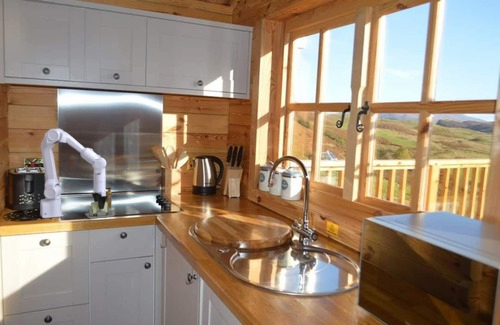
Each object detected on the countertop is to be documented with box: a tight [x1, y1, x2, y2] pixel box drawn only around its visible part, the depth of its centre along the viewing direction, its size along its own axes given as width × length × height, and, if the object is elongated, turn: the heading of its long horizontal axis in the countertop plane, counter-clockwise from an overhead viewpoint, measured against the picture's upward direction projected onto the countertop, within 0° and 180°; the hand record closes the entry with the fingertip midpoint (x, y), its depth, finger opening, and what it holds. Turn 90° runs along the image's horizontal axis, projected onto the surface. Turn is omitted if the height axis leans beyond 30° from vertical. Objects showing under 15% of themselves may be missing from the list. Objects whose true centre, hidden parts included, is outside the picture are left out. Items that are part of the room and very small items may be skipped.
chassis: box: [84, 207, 115, 220], centre depth 214 cm, size 12×9×4 cm
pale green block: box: [90, 201, 107, 214], centre depth 213 cm, size 7×4×5 cm, turn 126°
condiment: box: [106, 186, 115, 211], centre depth 231 cm, size 7×8×12 cm
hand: (99, 207), depth 213 cm, fingers open, 6 cm apart
